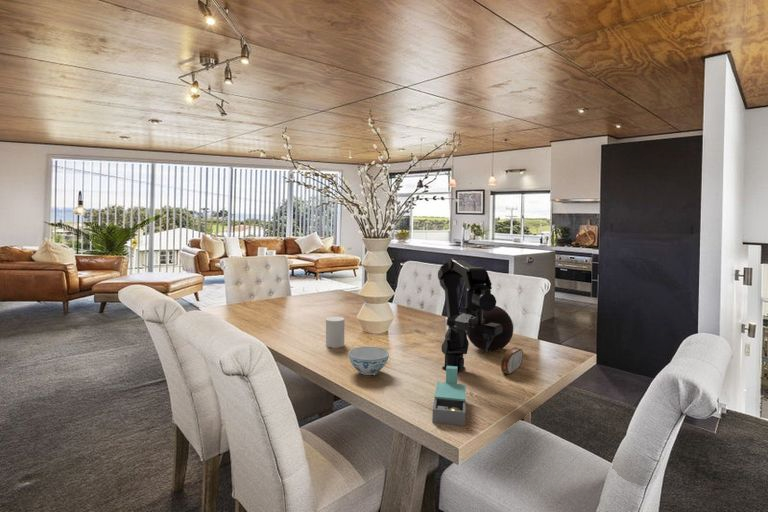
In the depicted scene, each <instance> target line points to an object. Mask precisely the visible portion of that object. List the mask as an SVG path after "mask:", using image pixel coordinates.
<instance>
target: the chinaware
mask: <svg viewBox="0 0 768 512" xmlns="http://www.w3.org/2000/svg"><path fill="white" fill-rule="evenodd" d="M389 356H390V351H389V350H388V349H386V348H383V347H380V346H373V345H372V346H371V345H370V346H369V345H368V346H366V345H365V346H358V347H354V348H351V349H350V350H349V351H348V358H349V361H350V363H351V366H353V368H354V369H355V370H357V371H358V372H360V373H361V374H364V375H374V374H376V375H378V373H379V372H380V371H381V370H382V369H383V368H384V367H385V366H386V364H387V362H388V360H389ZM360 373H359V374H360ZM361 374H360V375H361ZM374 376H375V375H374Z"/></svg>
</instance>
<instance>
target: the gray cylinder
mask: <svg viewBox="0 0 768 512" xmlns="http://www.w3.org/2000/svg"><path fill="white" fill-rule="evenodd" d="M325 346H327V347H326V348H329V347H332V348H331V349H340V348H339V347H341V348H343V347H345V318H344V317H342V316H329V317H326V318H325ZM342 346H343V347H342Z"/></svg>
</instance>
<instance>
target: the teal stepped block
mask: <svg viewBox="0 0 768 512" xmlns="http://www.w3.org/2000/svg"><path fill="white" fill-rule="evenodd" d="M457 369H458V367H457V366H447V367H446V369H445V372H446V373H445V382H442V381H441V382H440V381H437V382H436V387H435V391H434V399H446V400H457V401H465V402H466V396H467V395H466V391H467V389H466V388H467V384H463V383H458V372H457Z"/></svg>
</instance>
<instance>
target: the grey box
mask: <svg viewBox="0 0 768 512" xmlns="http://www.w3.org/2000/svg"><path fill="white" fill-rule="evenodd" d="M438 406H446V407H448V410H447V409H437V407H438ZM453 407H456V408H459V409H460V410H461V411H457V410H450V408H453ZM431 418H432V419H431V420H432V424H440V425H441V424H442V425H451V426H460V427H465V425H466V401H457V400H446V399H435V398H434V400H433V406H432V417H431Z"/></svg>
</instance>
